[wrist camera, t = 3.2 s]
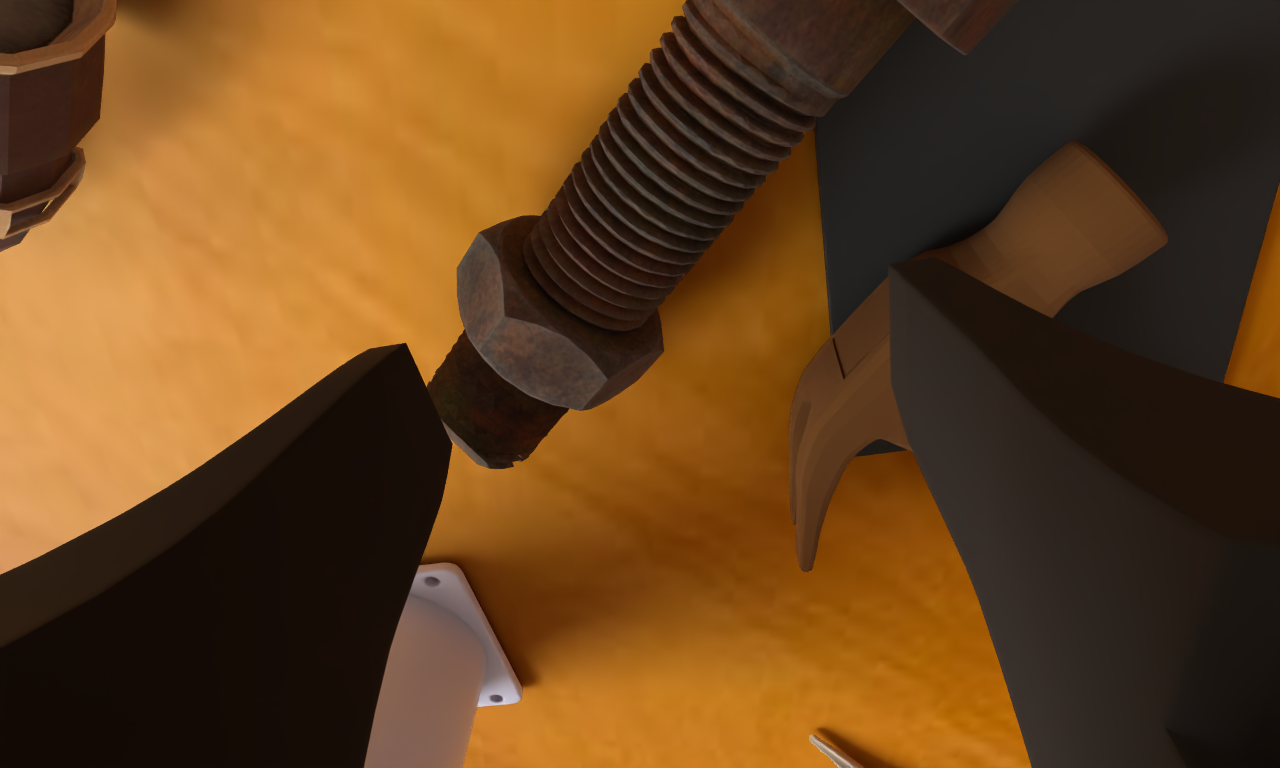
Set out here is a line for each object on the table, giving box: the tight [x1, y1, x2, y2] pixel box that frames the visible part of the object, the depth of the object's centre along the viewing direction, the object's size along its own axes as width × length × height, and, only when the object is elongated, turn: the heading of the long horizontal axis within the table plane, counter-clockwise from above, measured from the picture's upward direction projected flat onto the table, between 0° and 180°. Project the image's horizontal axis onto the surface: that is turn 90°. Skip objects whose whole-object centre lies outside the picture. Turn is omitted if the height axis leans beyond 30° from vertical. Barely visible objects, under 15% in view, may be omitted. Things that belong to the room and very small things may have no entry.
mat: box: [814, 0, 1280, 457], centre depth 16 cm, size 10×19×1 cm, turn 12°
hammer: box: [789, 141, 1168, 572], centre depth 23 cm, size 12×3×30 cm
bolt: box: [426, 0, 1018, 469], centre depth 15 cm, size 6×5×15 cm
